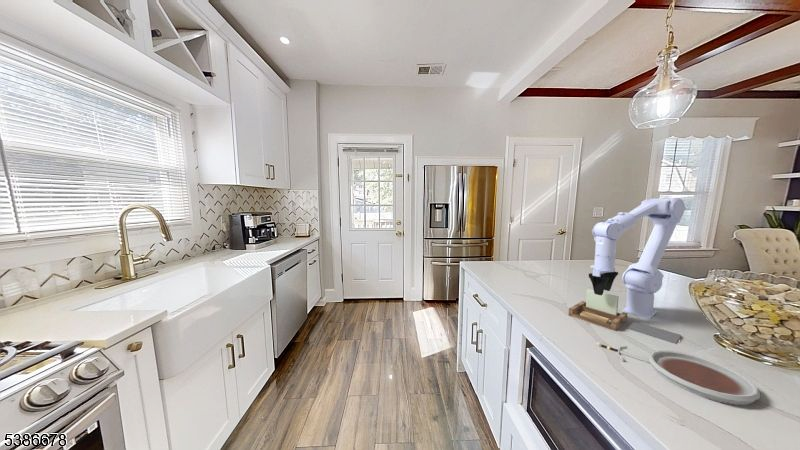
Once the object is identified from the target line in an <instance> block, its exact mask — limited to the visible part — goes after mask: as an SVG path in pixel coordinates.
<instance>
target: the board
mask: <svg viewBox="0 0 800 450" xmlns="http://www.w3.org/2000/svg"><path fill="white" fill-rule="evenodd" d="M619 298H620V296H618V295H615V294H611V293H606V292H603V294H602V295H597V294H595V293H594V289H590V288H588V289H586V300H585V302H586V307H589V308H592V309H596V310H599V311H603V312H606V313H610V314H613V315H617V313H619V312H618V309H619Z"/></svg>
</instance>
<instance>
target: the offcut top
mask: <svg viewBox="0 0 800 450" xmlns="http://www.w3.org/2000/svg"><path fill="white" fill-rule="evenodd" d="M579 315H581V316H584V317H587V318H590V319H594V320H597V321H600V322H603V323H606V324H608V322H610V320H609V319H608V318H605V317H602V316H598V315H595V314H591V313H588V312H584V311H583V312H579Z"/></svg>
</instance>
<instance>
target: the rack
mask: <svg viewBox="0 0 800 450" xmlns="http://www.w3.org/2000/svg"><path fill="white" fill-rule="evenodd" d="M583 311H584V312H588V313H591V314H595V315H598V316H602V317H605V318H608V319H609V322H611V323H609V324H606V323H603V322H600V321H597V320H594V319H590V318H587V317H584V316H581V315H580V313H581V312H583ZM568 316H570V317H572V318H576V319H578V320H582V321H585V322H588V323H590V324H593V325H597V326H600V327H602V328H606V329H609V330H611V331H614V332H616V331H617V330H618V329H619V328H620V327H622V326H623V325H624V324H625V323H626V322H627V321H628V312H625V311H622V313H620V312H618V313H617V315H613V314H610V313H606V312H603V311H599V310H596V309H592V308H589V307H586V301H584V300H582V301H580V302H578V303H576V304H574V305H573V306H571V307H569V308H568Z"/></svg>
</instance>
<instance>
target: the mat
mask: <svg viewBox="0 0 800 450" xmlns="http://www.w3.org/2000/svg"><path fill="white" fill-rule="evenodd" d="M626 329H628V330H631V331H634V332H636V333H639V334H642V335H643V334H644V335H646V336H649V337H652V338H656V339H659V340H662V341H666V342H669V343H672V344H674V345H676V344H677V343H678V342H679V340H680V339H681V337H682V334H679V333H677V332H672V331H669V330H667V329H662V328H659V327H655V326H652V325H649V324H647V323H646V324H645V323H642V322H638V321H633V322H632V323H631V324H629V325H628V326H627V327H626Z"/></svg>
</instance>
